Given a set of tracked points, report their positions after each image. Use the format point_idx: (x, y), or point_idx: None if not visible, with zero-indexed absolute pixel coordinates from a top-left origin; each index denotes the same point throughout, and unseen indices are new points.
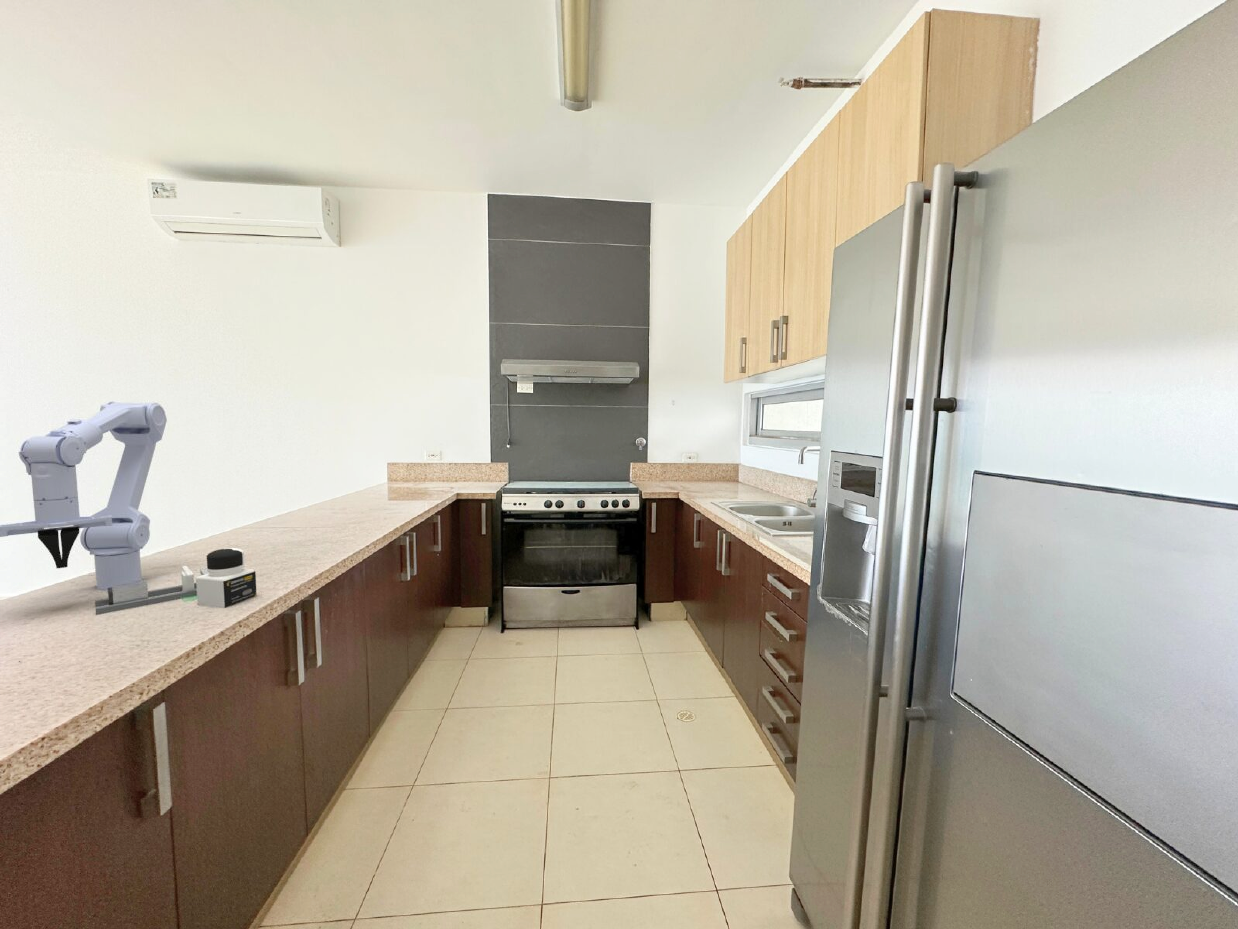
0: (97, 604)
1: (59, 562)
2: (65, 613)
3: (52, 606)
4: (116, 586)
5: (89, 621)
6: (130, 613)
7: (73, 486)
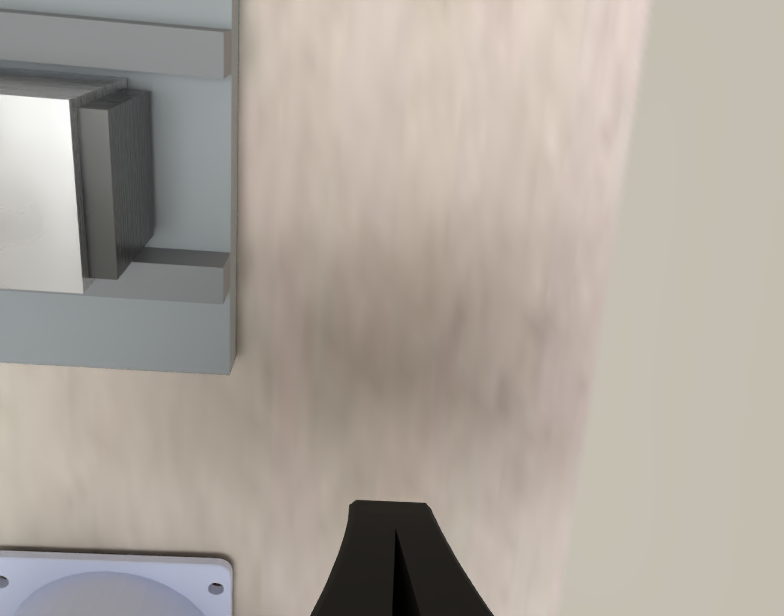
0: (215, 257)
1: (412, 537)
2: (371, 377)
3: None
4: (44, 207)
5: (274, 70)
6: None
7: None
